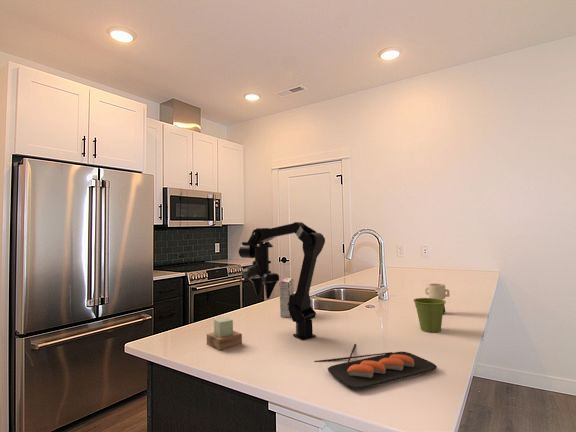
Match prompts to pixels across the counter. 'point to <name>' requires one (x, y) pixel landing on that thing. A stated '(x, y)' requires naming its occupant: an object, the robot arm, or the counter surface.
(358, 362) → the sushi plate
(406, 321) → the counter surface
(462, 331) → the counter surface
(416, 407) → the counter surface
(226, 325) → the green cube
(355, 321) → the counter surface
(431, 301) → the plant pot
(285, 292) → the candy bar box
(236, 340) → the walnut block
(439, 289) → the character mug
